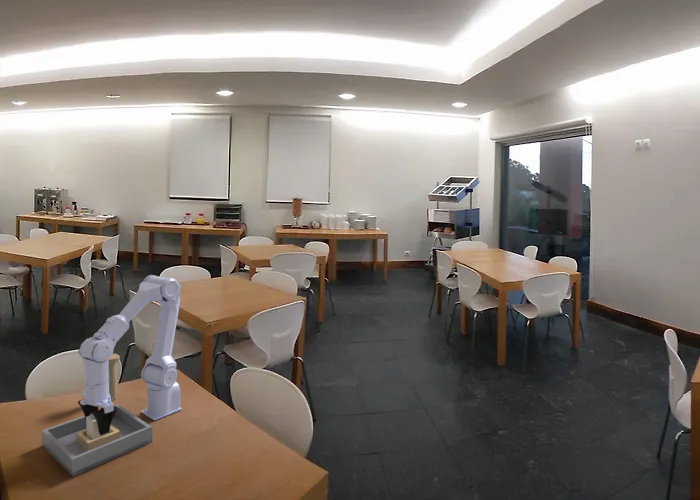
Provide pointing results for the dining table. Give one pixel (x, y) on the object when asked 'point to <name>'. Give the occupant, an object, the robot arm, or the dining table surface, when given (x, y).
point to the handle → (113, 375)
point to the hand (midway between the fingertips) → (97, 428)
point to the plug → (92, 428)
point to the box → (95, 441)
